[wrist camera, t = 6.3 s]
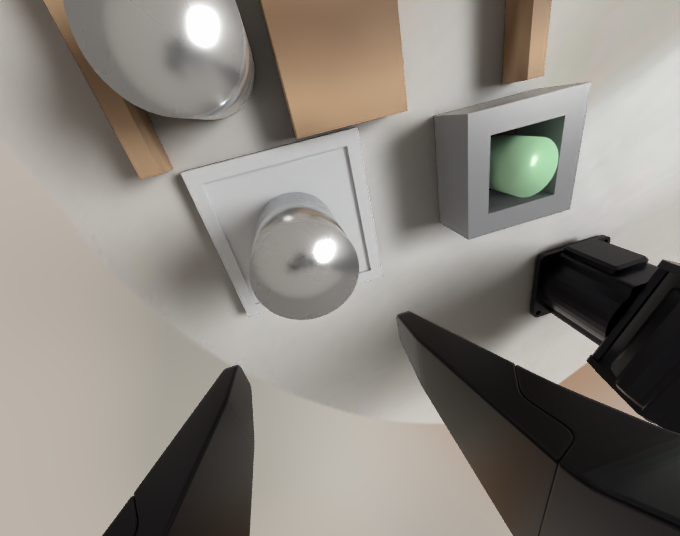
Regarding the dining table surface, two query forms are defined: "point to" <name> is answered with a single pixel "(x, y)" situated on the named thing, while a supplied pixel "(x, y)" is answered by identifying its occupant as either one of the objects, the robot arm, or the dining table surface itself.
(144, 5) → the seated steel billet
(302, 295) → the loose steel billet
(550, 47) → the dining table surface
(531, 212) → the button housing
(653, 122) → the dining table surface
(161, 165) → the frame
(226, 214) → the tray
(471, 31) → the dining table surface
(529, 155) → the button
